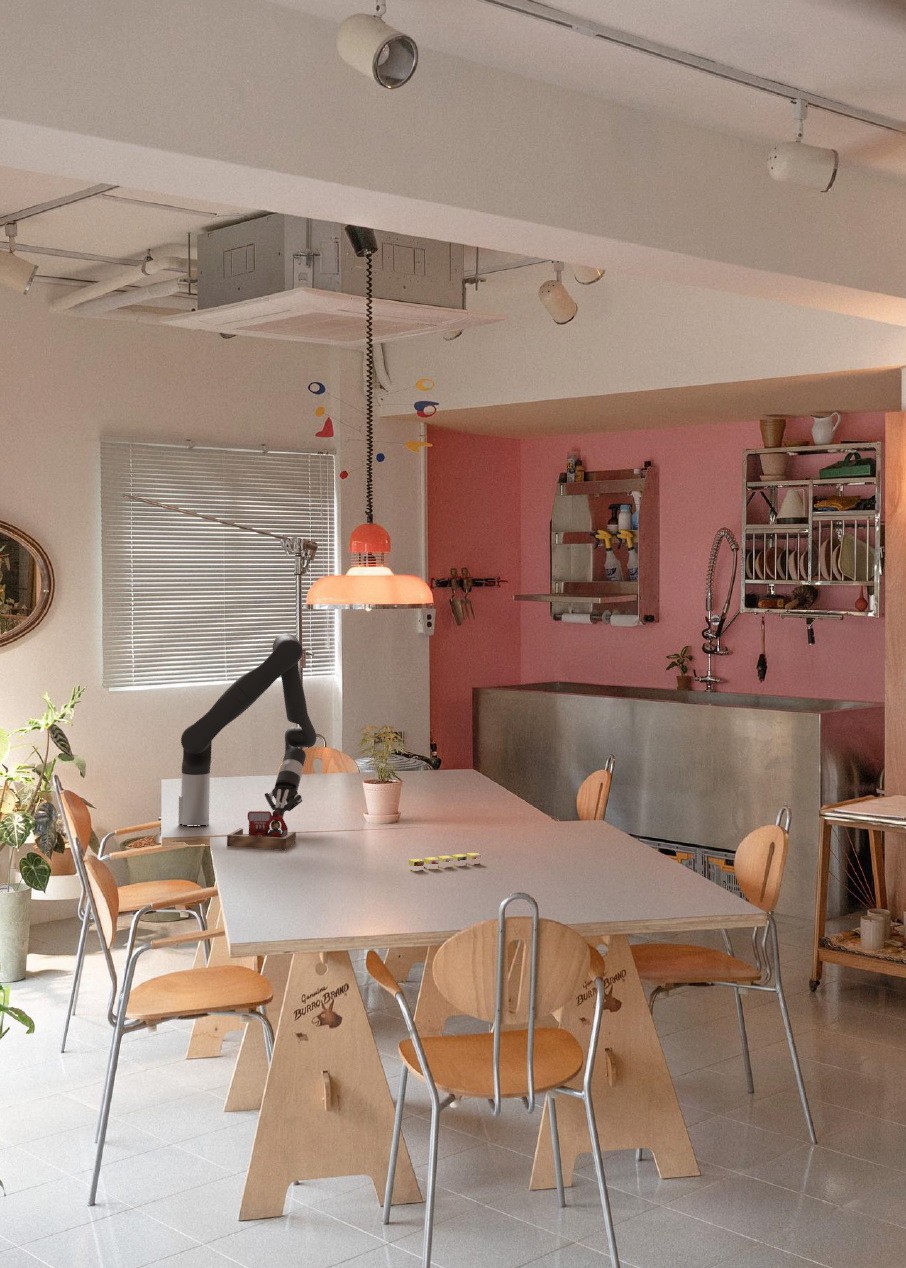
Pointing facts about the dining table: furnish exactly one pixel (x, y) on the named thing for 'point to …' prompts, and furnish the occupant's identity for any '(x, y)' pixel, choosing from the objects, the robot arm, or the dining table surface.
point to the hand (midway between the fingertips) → (277, 819)
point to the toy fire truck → (266, 824)
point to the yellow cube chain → (442, 859)
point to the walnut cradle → (260, 841)
